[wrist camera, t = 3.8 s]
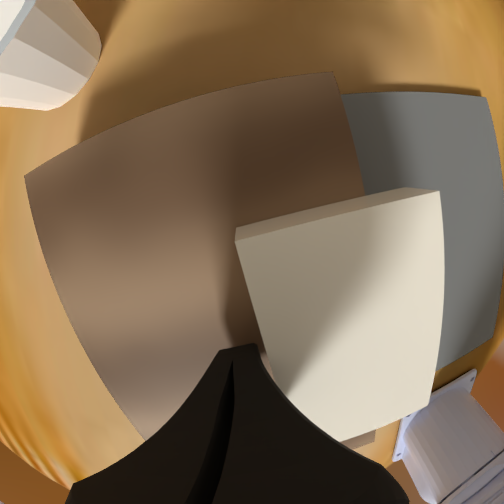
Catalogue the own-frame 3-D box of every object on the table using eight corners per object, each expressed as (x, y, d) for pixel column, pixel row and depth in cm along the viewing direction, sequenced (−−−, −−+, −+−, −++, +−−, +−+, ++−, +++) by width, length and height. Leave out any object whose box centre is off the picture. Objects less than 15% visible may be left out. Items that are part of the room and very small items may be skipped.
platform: (354, 399, 16) (374, 441, 12) (185, 433, 16) (177, 477, 12) (306, 101, 11) (333, 71, 7) (73, 174, 12) (24, 176, 8)
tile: (409, 379, 11) (427, 405, 9) (290, 420, 11) (297, 453, 9) (404, 187, 8) (439, 190, 6) (236, 227, 9) (234, 241, 7)
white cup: (11, 123, 10) (-70, 115, 4) (44, 28, 9) (-17, -8, 2) (89, 120, 11) (-7, 92, 4) (128, 12, 9) (76, -57, 3)
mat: (488, 333, 15) (492, 336, 15) (361, 397, 16) (364, 402, 15) (480, 98, 11) (486, 97, 10) (316, 100, 11) (319, 96, 11)
